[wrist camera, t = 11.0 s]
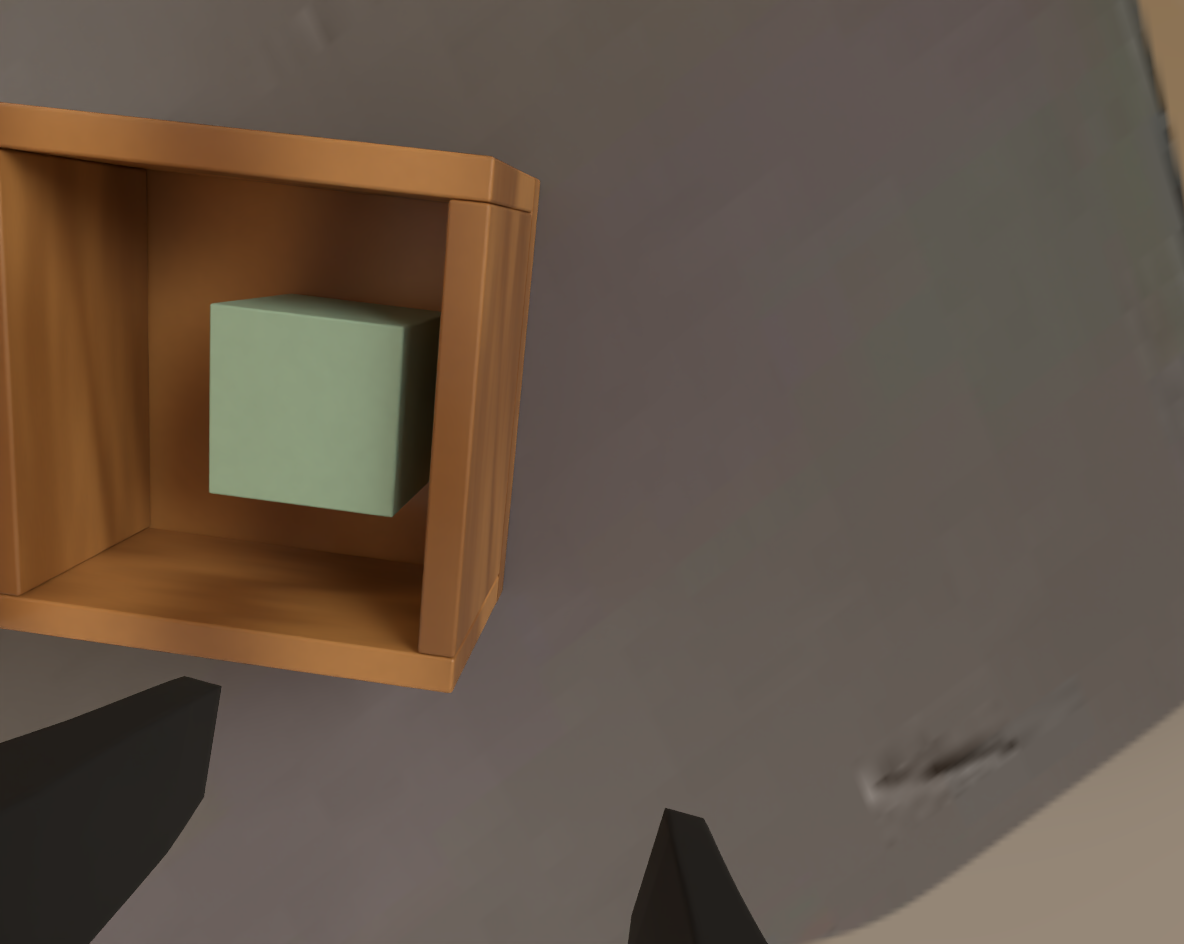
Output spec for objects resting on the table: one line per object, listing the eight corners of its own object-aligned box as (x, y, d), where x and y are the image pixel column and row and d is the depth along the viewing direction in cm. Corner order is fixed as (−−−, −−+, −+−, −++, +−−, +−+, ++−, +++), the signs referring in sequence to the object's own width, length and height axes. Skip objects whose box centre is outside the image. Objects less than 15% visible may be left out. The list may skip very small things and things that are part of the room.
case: (540, 180, 22) (494, 156, 16) (502, 591, 24) (451, 694, 19) (134, 134, 22) (-47, 96, 17) (140, 541, 25) (-15, 627, 19)
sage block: (289, 293, 22) (208, 303, 18) (451, 312, 22) (403, 327, 18) (285, 452, 23) (207, 493, 19) (439, 472, 23) (392, 518, 19)
